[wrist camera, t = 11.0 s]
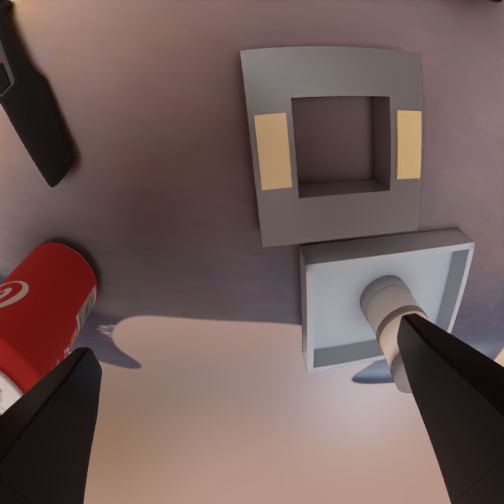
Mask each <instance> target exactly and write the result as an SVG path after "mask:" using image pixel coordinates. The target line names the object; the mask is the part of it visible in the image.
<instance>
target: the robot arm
mask: <svg viewBox="0 0 504 504" xmlns="http://www.w3.org/2000/svg"><path fill="white" fill-rule="evenodd" d="M492 1H495V2H501V1H502V0H492ZM397 344H398V348H399V351H400V354H401V357H402V361H403V364H404V368H405V371H406V375H407V378H408V382H409V385H410V388H411V391H412V393H413V396H414V398H415V401H416V403H417V406H418V408H419V411H420V414H421V416H422V419H423V421H424V424H425V427H426V429H427V432H428V435H429V437H430V440H431V443H432V446H433V449H434V452H435V455H436V458H437V461H438V463H439V466H440V470H441V473H442V476H443V479H444V482H445V485H446V488H447V491H448V495H449V498H450V502H451V504H504V367H503V366H501V365H500V364H498V363H496V362H495V361H493V360H492V359H490V358H489V357H487V356H485V355H484V354H482V353H481V352H479V351H477V350H476V349H474V348H473V347H471V346H469V345H468V344H466V343H464V342H463V341H461V340H460V339H458V338H456V337H455V336H453V335H451V334H450V333H448V332H447V331H445V330H443V329H442V328H440V327H438V326H437V325H435V324H433V323H432V322H430V321H428V320H427V319H425V318H423V317H422V316H420V315H418V314H416V313H411V314H406V315H403V316H402V317H401V320H400V325H399V329H398V334H397ZM101 377H102V369H101V366H100V364H99V362H98V360H97V358H96V357H95V355H94V353H93V351H92V350H91V349H90V348H88V347H79V348H77V349H75V350H74V351H73V352H72V353H71V354H69V355H68V356H67V357H66V358H65V359H64V360H62V361H61V362H60V363H59V364H58V365H57V366H55V367H54V368H53V369H52V370H51V371H50V372H49V373H47V374H46V375H45V376H44V377H43V378H42V379H41V380H39V381H38V382H37V383H36V384H35V385H34V386H33V387H31V388H30V389H29V390H28V391H27V392H26V393H25V394H24V395H22V396H21V397H20V398H19V399H18V400H17V401H16V402H15V403H14V404H12V405H11V406H10V407H9V408H8V409H7V410H6V411H5V412H4V413H3V415H0V504H83V503H84V494H85V486H86V479H87V471H88V465H89V459H90V453H91V447H92V441H93V436H94V430H95V425H96V419H97V413H98V404H99V394H100V385H101Z"/></svg>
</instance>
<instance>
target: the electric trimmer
mask: <svg viewBox="0 0 504 504" xmlns="http://www.w3.org/2000/svg"><path fill="white" fill-rule="evenodd" d="M11 6H12V3H11V1H7V0H0V103H1V105H2V106H3V108H4V110H5V112H6V114H7V115H8V117H9V119H10V121H11V123H12V125H13V126H14V128H15V130H16V132H17V134H18V135H19V137H20V139H21V141H22V142H23V144H24V146H25V147H26V149H27V151H28V153H29V154H30V156H31V158H32V159H33V161H34V162H35V164H36V166H37V167H38V169H39V170H40V172H41V174H42V175H43V177H44V178H45V180H46V181H47V183H48V184H49V186H50V187H54V186H56V185H57V184H58V183H59V182H60V181H61V180H62V179H63V178H64V176H65V175H66V173H67V172H68V170H69V169H70V167H71V166H72V164H73V163H74V159H75V156H74V153H73V151H72V148H71V146H70V144H69V141H68V139H67V136H66V134H65V131H64V129H63V126H62V123H61V121H60V118H59V116H58V113H57V110H56V108H55V105H54V102H53V99H52V97H51V94H50V92H49V89H48V86H47V84H46V81H45V79H44V78H43V76H41V75H40V74H38V73H37V72H35V71H34V70H32V69H31V68H30V67H29V65H28V64H27V61H26V59H25V57H24V55H23V52H22V50H21V48H20V45H19V43H18V41H17V38H16V36H15V33H14V31H13V28H12V26H11V23H10V21H9V18H8V15H7V11H8V9H9V8H10V7H11Z"/></svg>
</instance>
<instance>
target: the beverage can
mask: <svg viewBox="0 0 504 504" xmlns="http://www.w3.org/2000/svg"><path fill="white" fill-rule="evenodd" d="M97 296H98V286H97V281H96V277H95V275H94V273H93V271H92V269H91V267H90V266H89V264H88V263H87V261H86V260H85V259H84V258H83V257H82V256H81V255H80V254H79V253H78V252H76V251H75V250H73V249H72V248H70V247H68V246H66V245H63V244H59V243H44V244H42V245H39V246H38V247H37V248H35V249H34V250H33V251H32V252H31V253H30V254H29V255H28V256H27V257H26V258H25V259H24V260H23V261H22V262H21V263H20V265H19V266H18V267H17V268H16V269H15V270H14V271H13V272H12V273H11V274H10V275H9V276H8V277H7V278H6V279H5V281H4V282H3V283H2V284H1V285H0V412H1V413H4V412H5V411H6V410H7V409H8V408H9V407H10V406H11V405H12V404H14V403H15V402H16V401H17V400H18V399H19V398H20V397H21V396H22V395H24V394H25V393H26V392H27V391H28V390H29V389H30V388H31V387H33V386H34V385H35V384H36V383H37V382H38V381H39V380H41V379H42V378H43V377H44V376H45V375H46V374H47V373H49V372H50V371H51V370H52V369H53V368H54V367H55V366H57V365H58V364H59V363H60V362H61V361H62V360H64V359H65V358H66V357H67V356H68V354H69V352H70V350H71V348H72V346H73V344H74V342H75V340H76V338H77V336H78V334H79V332H80V330H81V328H82V326H83V324H84V322H85V321H86V319H87V317H88V315H89V313H90V311H91V309H92V308H93V306H94V304H95V302H96V300H97Z"/></svg>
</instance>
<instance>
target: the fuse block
mask: <svg viewBox="0 0 504 504" xmlns="http://www.w3.org/2000/svg"><path fill="white" fill-rule="evenodd" d="M240 62H241V70H242V79H243V87H244V95H245V104H246V112H247V121H248V129H249V138H250V147H251V155H252V164H253V173H254V182H255V191H256V200H257V209H258V218H259V227H260V234H261V241H262V247H263V248H265V247H274V246H282V245H291V244H300V243H308V242H317V241H326V240H334V239H343V238H352V237H361V236H369V235H378V234H387V233H396V232H405V231H414V230H418V225H419V216H420V205H421V193H422V178H423V156H424V101H423V80H422V66H421V54H420V53H416V52H408V51H400V50H390V49H379V48H365V47H343V46H298V47H276V48H262V49H250V50H241V51H240ZM318 96H372V99H373V120H374V179H367V180H353V181H339V182H327V183H315V184H304V185H298V179H297V165H296V152H295V139H294V127H293V116H292V105H291V98H297V97H318Z"/></svg>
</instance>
